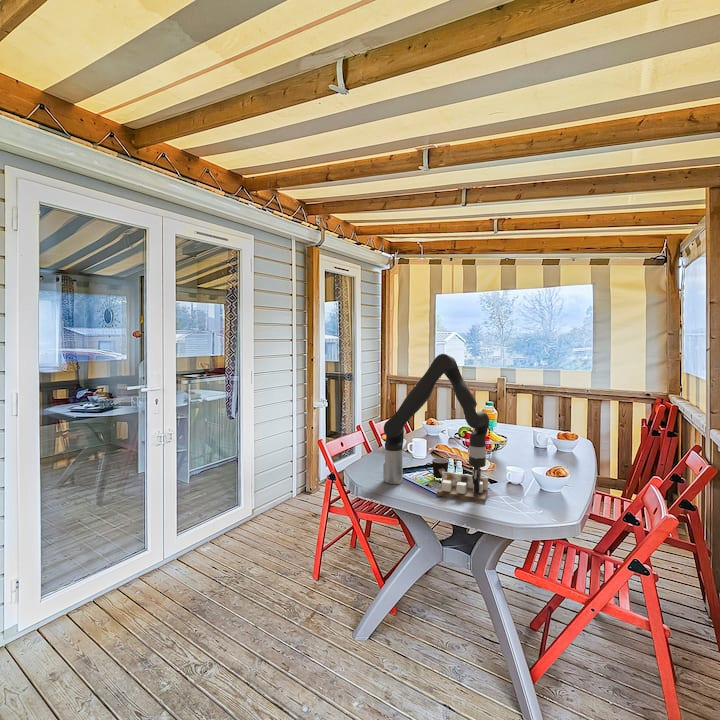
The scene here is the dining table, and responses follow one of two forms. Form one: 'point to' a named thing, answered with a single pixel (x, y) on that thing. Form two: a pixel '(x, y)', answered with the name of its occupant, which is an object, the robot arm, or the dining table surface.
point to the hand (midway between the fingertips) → (476, 491)
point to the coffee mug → (438, 466)
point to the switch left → (446, 485)
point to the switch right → (479, 487)
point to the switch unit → (469, 492)
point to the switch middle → (461, 487)
